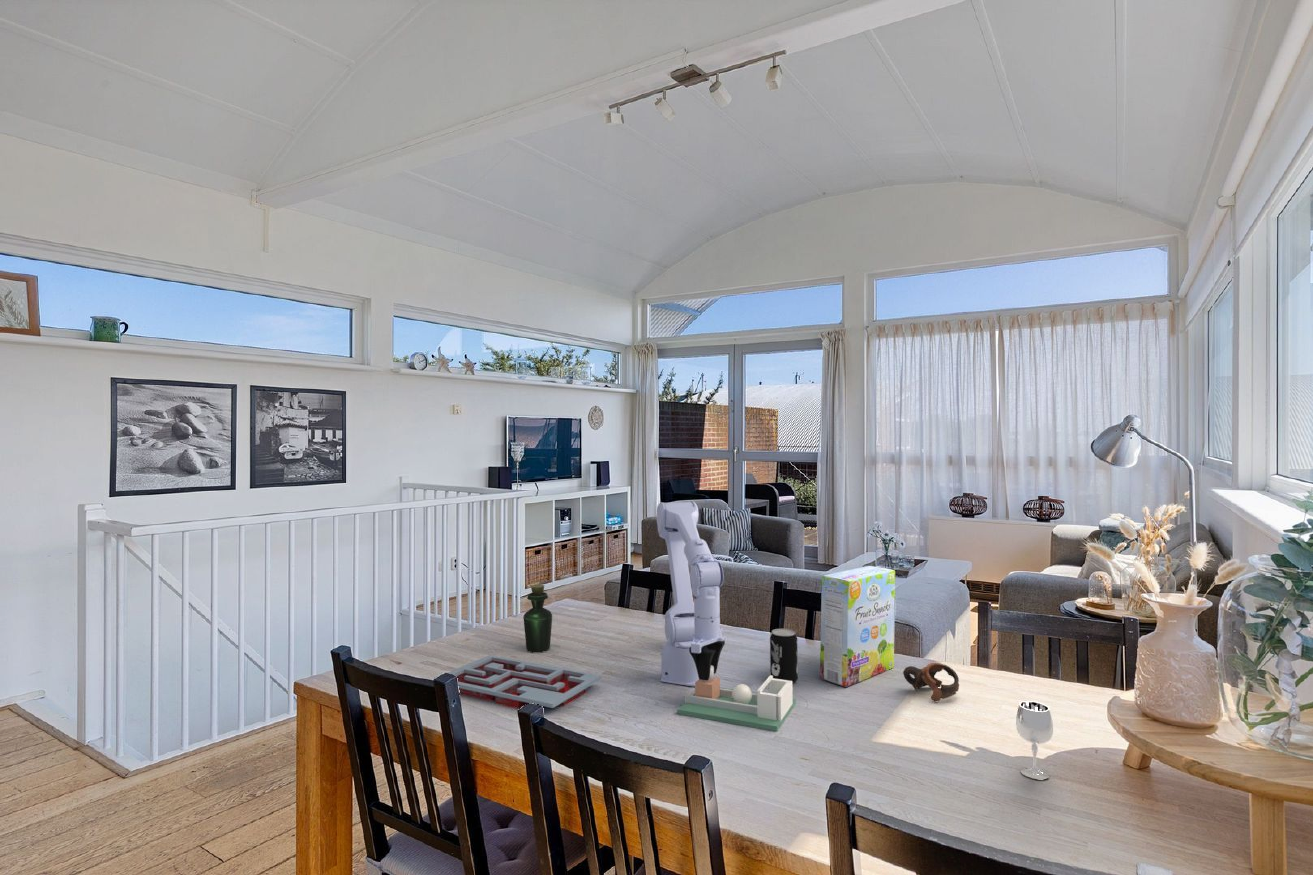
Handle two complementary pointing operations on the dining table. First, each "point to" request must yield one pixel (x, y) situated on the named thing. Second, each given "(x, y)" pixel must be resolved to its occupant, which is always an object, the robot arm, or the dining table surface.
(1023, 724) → the wineglass
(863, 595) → the snack box
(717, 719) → the pitch board
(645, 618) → the dining table surface
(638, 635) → the dining table surface
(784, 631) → the beverage can
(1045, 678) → the dining table surface
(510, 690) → the maze game
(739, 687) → the ball
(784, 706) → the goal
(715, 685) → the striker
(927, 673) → the brown curved loop
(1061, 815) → the dining table surface
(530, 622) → the potion bottle
